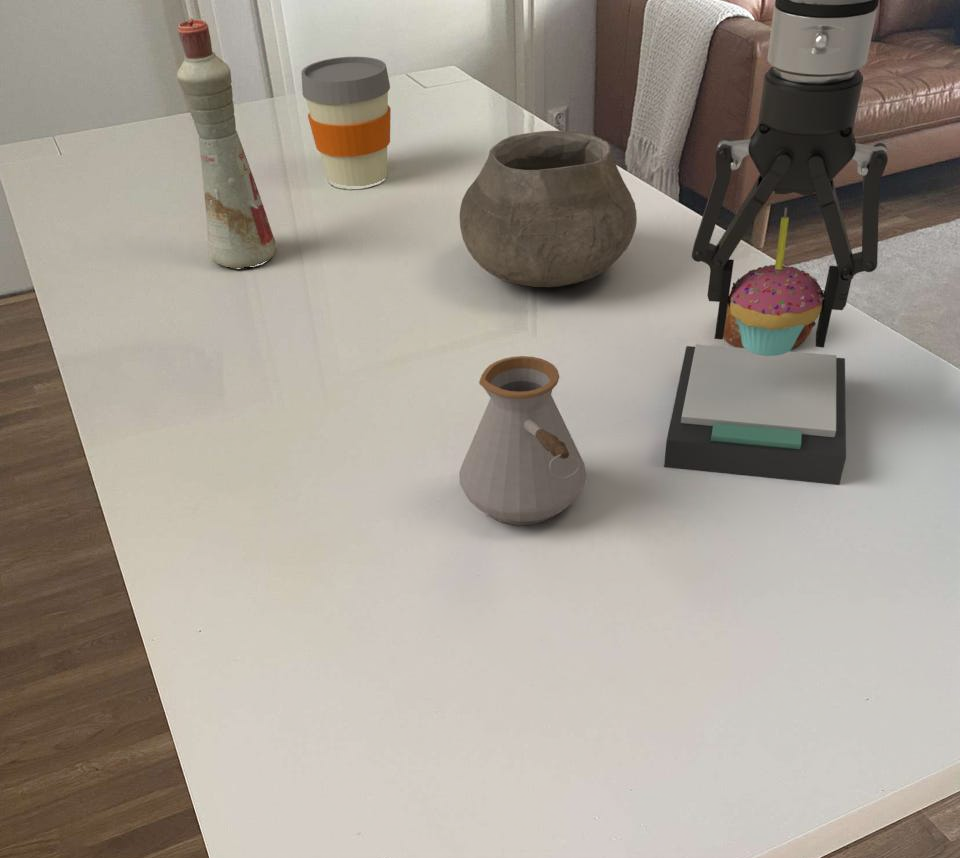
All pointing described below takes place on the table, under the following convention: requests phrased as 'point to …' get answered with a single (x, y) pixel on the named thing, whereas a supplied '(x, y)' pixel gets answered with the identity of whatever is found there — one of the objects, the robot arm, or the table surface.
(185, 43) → the bottle
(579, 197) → the clay pot
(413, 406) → the table surface
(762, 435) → the scale
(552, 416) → the coffee pot
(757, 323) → the cupcake
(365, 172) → the reusable coffee cup
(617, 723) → the table surface
